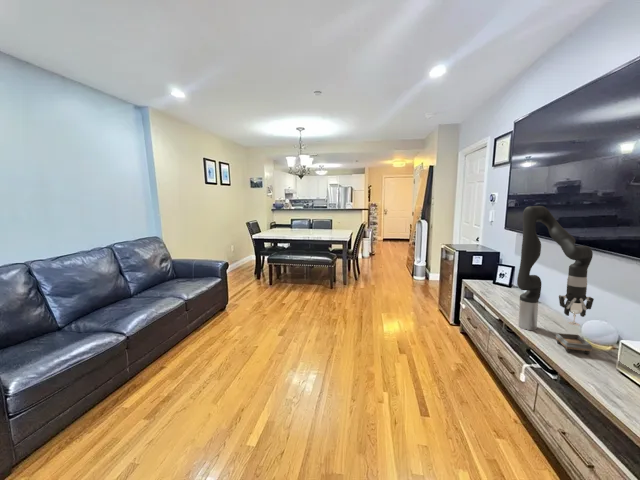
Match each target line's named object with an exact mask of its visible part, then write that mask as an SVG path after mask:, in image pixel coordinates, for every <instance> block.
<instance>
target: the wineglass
mask: <svg viewBox="0 0 640 480" xmlns="http://www.w3.org/2000/svg"><path fill="white" fill-rule="evenodd" d="M569 303H570V302H569ZM569 309H570V310H569V313H571V314H573V316H572V317H573V321H570V322H569V321H568V322H567V323H568V325H571V326H574V327H575V326H576V327H577V326H578V327H579V326H580V324H579V323H577V322H576V317H577V315H580V313H582V311H583V306H582V304H581V303H573V304H572V306H570V308H569Z"/></svg>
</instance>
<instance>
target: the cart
mask: <svg viewBox="0 0 640 480" xmlns="http://www.w3.org/2000/svg"><path fill="white" fill-rule="evenodd" d="M555 339H556V343H557V345H562V346H563V347H564V348H565V349H564V350H565V353H570V352H571V350H575V351H584V354H585V355H590V354H591V353H590V352H592V350H593V349H592V348H593V345H592V344H590V342H588V341H587V340H585V339H584V338H583V337H582V336H580V335H579V334H572V333H563V332H556V333H555Z"/></svg>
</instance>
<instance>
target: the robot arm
mask: <svg viewBox="0 0 640 480" xmlns="http://www.w3.org/2000/svg"><path fill="white" fill-rule="evenodd" d="M537 222H540V223H542V224H543V225H544V226H546V227H547V230H548V234H549V236H550V237H551V239H552V240H553V241H554V242H555V243H556V244H557V245H559V246H560V248H561V251H562V252H563V253H564V255H565V257H567V258H568V259H570V260H573V261H574V262H573V263H572V264H570V265H569V266H568V276H567V278H566V294H565V295H561V294H559V295H558V301H559V306H560V307H561V308H563V310H564V311H563V313H564V314H565V316H567V317H568V316H569V317H570V312H569V310H570V309H569V308H570V306H572V304H573V303H581V304H582V306H583V311H582V313H580V314H579V316H580V317H582V318H584V317H585V316H586V315H587V310H591V309H592V307H593V303H594V300H595V298H593V297H591V296H587V290H588V269H589V267H590V265H591V262H592V259H593V256H594V255H593V254H594V253H593V250H592V248H591V247H590V246H588V245H576V238H575V237H574V236H572V234H570V233H569V232H568V231H567V230H566V229H565V228H564V227H562V226H561V224H560V223H559V222H558V221H557V219H556V218H555V217H554V216H553V214H552V213H551V212H550V210H548V208H547V207H545V206H543V205H533V206H531V205H529V206H527V207H525V208H524V210H523V213H522V242H521V255H520V264H519V269H518V274H517V279H516V280H517V281H516V284H517V288H518V289H519V290H520V291H525V292H523V293H521V294H520V296H519V306H518V307H519V308H518V309H519V310H518V324H517V325H518V327H519V328H521V329H523V330H526V329H527V330H528V331H536V330H537V328H538V317H539V316H538V315H539V314H538V313H539V301H540V298H541V294H542V293H541V292H542V280H541V278H540V276H538V275H537V274H531V270H532V268H533V266H534V265H535V264H536V262H537V261H538V260H539V258H540V256H541V253H542V243H541V239H540V238H539V236H538V234H537V232H536V224H537ZM565 300H566V301H565ZM585 301H586V303H585ZM569 302H570V303H569Z"/></svg>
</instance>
